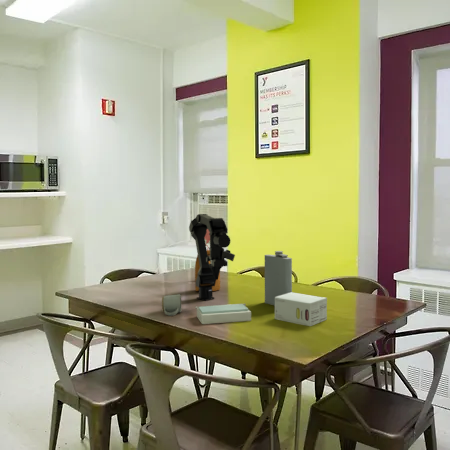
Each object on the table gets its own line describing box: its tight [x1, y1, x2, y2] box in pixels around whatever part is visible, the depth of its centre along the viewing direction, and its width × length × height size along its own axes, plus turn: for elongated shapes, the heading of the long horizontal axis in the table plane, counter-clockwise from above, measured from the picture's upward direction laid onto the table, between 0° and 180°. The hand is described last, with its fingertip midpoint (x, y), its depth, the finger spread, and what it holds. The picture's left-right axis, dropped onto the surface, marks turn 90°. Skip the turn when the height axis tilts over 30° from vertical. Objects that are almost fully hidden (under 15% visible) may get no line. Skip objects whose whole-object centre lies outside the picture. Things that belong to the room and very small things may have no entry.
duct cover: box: [197, 303, 249, 314], centre depth 191 cm, size 19×9×1 cm, turn 104°
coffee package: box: [194, 249, 221, 292], centre depth 246 cm, size 10×12×22 cm
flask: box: [264, 250, 293, 306], centre depth 212 cm, size 17×5×25 cm, turn 31°
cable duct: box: [194, 303, 252, 325], centre depth 191 cm, size 21×12×4 cm, turn 104°
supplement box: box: [274, 291, 328, 327], centre depth 188 cm, size 17×13×9 cm
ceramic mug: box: [161, 293, 182, 317], centre depth 201 cm, size 11×8×8 cm
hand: (216, 279), depth 213 cm, fingers closed
